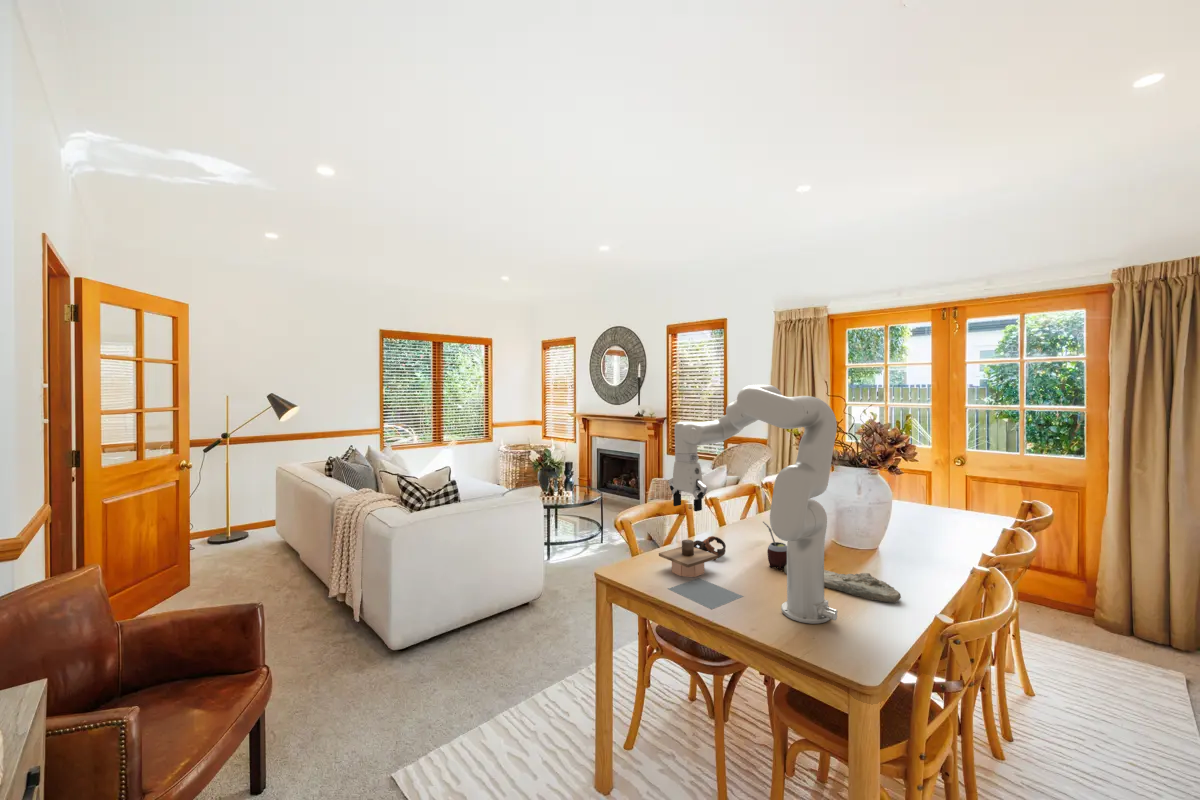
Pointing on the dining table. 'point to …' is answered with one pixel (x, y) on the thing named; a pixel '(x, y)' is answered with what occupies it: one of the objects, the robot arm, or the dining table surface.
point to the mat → (705, 593)
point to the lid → (688, 554)
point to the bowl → (688, 570)
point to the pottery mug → (707, 547)
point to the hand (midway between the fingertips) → (687, 508)
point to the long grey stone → (860, 586)
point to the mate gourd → (776, 553)
